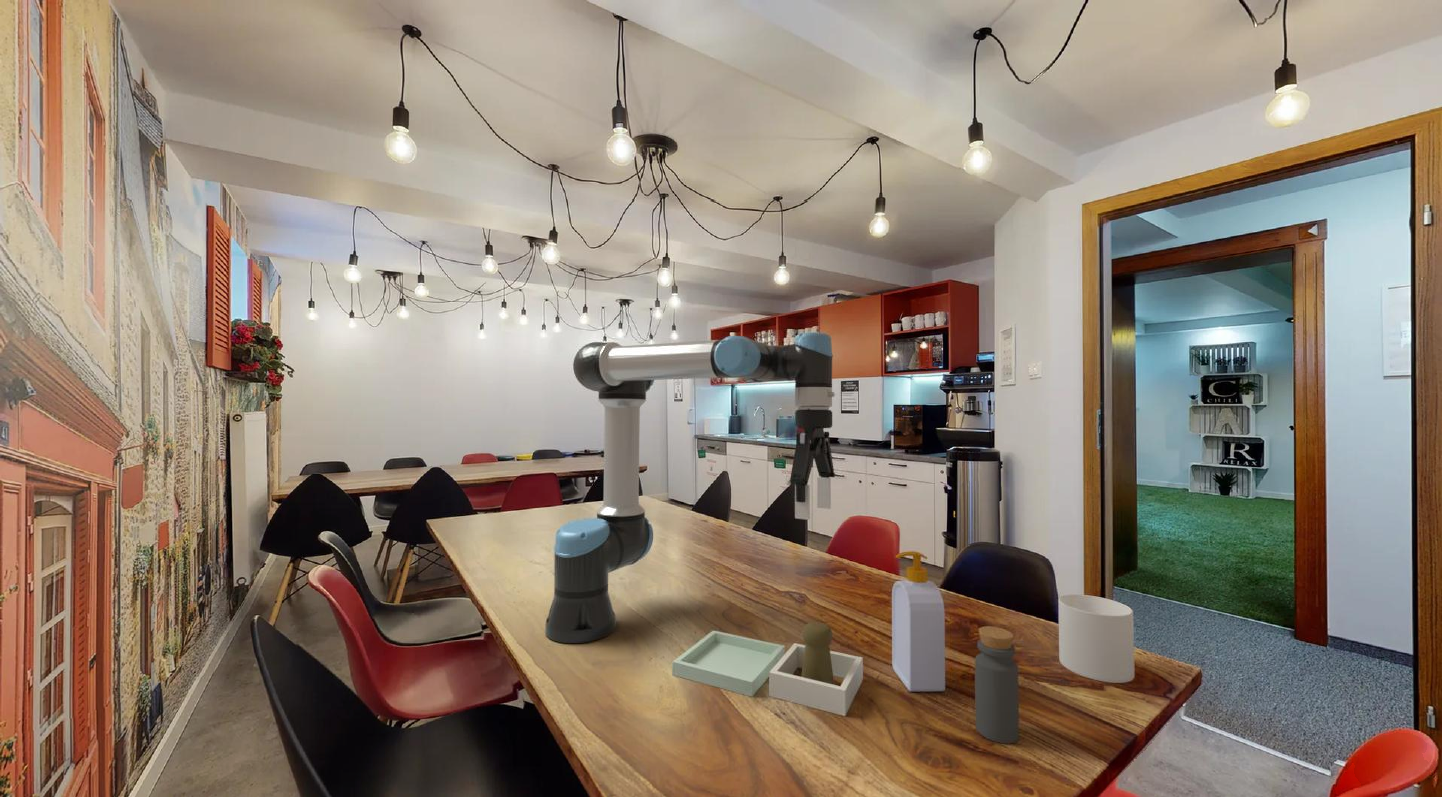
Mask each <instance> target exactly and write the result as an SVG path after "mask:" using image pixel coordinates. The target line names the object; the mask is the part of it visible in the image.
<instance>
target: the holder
mask: <svg viewBox="0 0 1442 797" xmlns="http://www.w3.org/2000/svg"><path fill="white" fill-rule="evenodd" d="M804 652H805V644H799V643H793V644H792V645H791V646H790V647H789V649H788V650H787V651H786V652H785V655H784V656H783V657H782V658H781V659H780V660H779V661H778V663H777V664H776V665H775V666H774V667H773V668H772V670H771V671H770V672H769V677H768V679H769V680H768V697H771V698H774V699H778V700H782V701H786V702H791V703H794V704H798V705H802V706H805V707H809V708H812V709H816V710H821V711H825V712H828V713H832V714H835V715H840V716H843V717H846V716H847V713H848V711H849V709H850V707H851V706H852V703H853V701H854V699H855V697H856V694H857V693H858V690H859V688H860V686H861V685H862V682H863V680H864V678H863V677H864V674H863V672H864V665H863V664H864V658H863V656H856V655H852V654H848V653H842V652H839V651H832V650H830V655H831V663H832V671H833V677H837V678H841V679H843V681H842V683H841V685H840V686H839V685H836V684H834V685H833V684H828V683H824V682H820V681H816V680H812V679H808V678H804V677H801V676H799V675H794V673H795V672H796V670H797V669H798V668H799V669H802V667H803V659H804Z"/></svg>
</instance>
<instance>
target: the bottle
mask: <svg viewBox="0 0 1442 797" xmlns="http://www.w3.org/2000/svg"><path fill="white" fill-rule="evenodd" d="M978 633H979V634H978V635H979V639H978V640H977V649H978V650H979V651H980V652H981V653H979V654H976V656H975V657H974V696H975V697H974V700H975V704H974V706H975V711H974V712H975V728H976V731H977V732H978V733H979V734H980V735H981V736H982V737H984V738H986V739H987V740H990V741H993V742H995V743H999V744H1007V745H1009V744H1014V743H1016V742H1018V740H1019V737H1020V725H1019V724H1020V718H1019V716H1020V714H1019V713H1020V711H1019V707H1020V706H1019V705H1020V704H1019V699H1020V698H1019V666H1018V664H1017V663H1016V661H1015V660H1014V659H1012V657H1014V656H1015V655H1016V647H1015V645H1013V641H1014V633H1013V632H1011V631H1009V630H1007V629H1005V628H1002V627H998V626H987V625H986V626H981V627H979V628H978Z"/></svg>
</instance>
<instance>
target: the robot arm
mask: <svg viewBox="0 0 1442 797" xmlns="http://www.w3.org/2000/svg"><path fill="white" fill-rule="evenodd" d="M794 338H795V340H794V343H792V344H787V345H786V344H785V345H769V344H765V343H762V342H759V341H756V340H753V339H751V338H749V337H746V336H743V335H729V336H726V337H724V338H723V339H713V340H696V341H681V342H668V343H667V342H665V343H653V344H652V343H650V344H636V345H635V344H634V345H621V344H620V343H618V342H615V341H610V342H603V341H593V342H590V343H587V344H585V345H583V346H582V347H581V348H580V349H578V351H577V353H576V354H575V357H574V358H573V363H572V366H573V367H572V369H573V373H574V375H575V376H574V377H575V378H576V380H577V381H578V382H579V384H581V386H583V388H585V389H588V390H591V391H593V392H598V402H599V403H600V404H601V405H603V407H604V433H603V434H604V435H603V436H604V439H603V440H604V442H603V450H604V451H603V504H602V505H601V507H599V509H598V510H597V511H596V518H595V517H590V518H589V517H588V518H583V519H576V520H572V521H570V522H567V523H565V524H563V525H562V526H560V527H559V528H558V529H557V531H556V533H555V541H554V546H553V552H554V564H553V565H554V567H553V568H554V571H553V572H554V574H553V576H554V577H553V578H554V579H553V580H554V582H553V583H554V584H553V585H554V586H553V588H554V590H553V591H554V593H553V594H554V595H553V600H552V601H551V605H550V608H549V612H548V616H547V618H546V620H545V624H544V626H545V628H544V630H545V631H544V632H545V636H546V637H547V638H548V639H550V640H552V641H554V642H556V643H561V644H562V643H564V644H580V643H581V644H582V643H588V642H593V641H598V640H599V639H603V638H605V637H607V636H609V635H610V634H612V633H613V632H614V631H615V629H616V625H617V623H616V622H617V620H616V619H617V618H616V617H617V616H616V613H615V611H614V609H613V606H612V601H611V599H610V595H609V573H612V572H615V571H618V570H620V569H622V568H624V567H627V566H631V565H634V564H635V563H637V562H639V561H640V560H642V559H644V558H645V557H646V555H648V553H649V552H650V550H651V548H652V546H653V542H654V529H653V526H652V524H650V522H649V519H648V517H646V516H645V513H646V511H645V509H644V507H643V506H641V505H640V503H639V496H640V495H639V493H640V488H639V487H640V428H641V427H640V420H641V419H640V418H641V417H640V416H641V415H640V414H641V406H643V404H644V403H645V402H646V401H647V392H648V391H649V390H650V389H651V387H652V386H653V385H654V382H655V381H656V380H657V381H660V380H663V381H664V380H690V379H691V380H692V379H695V380H696V379H728V378H729V379H731V378H733V379H734V378H740V379H741V378H742V379H743V380H744V381H746V382H754V383H762V382H779V381H780V382H781V381H788V382H789V381H794V382H795V383H794V386H795V387H794V406H795V407H796V408H797V409H796V410H795V411H794V412H795V413H794V415H795V417H794V420H795V421H794V425H795V427H796V428H798V429H802V430H803V431H802V432H797V433H796V439H795V442H796V444H795V449H794V455H793V461H792V467H791V473H790V477H789V484H790V485H794V518H795V519H798V520H807V521H809V520H810V519H811V518H810V517H811V516H810V515H811V514H810V512H811V510H810V508H811V507H810V506H811V503H810V502H811V501H810V498H811V495H810V492H811V491H810V489H811V488H810V484H808V483H809V479H810V476H811V473H812V468H813V464H814V463H815V466H816V469H817V473H818V476H817V479H816V480H817V481H816V482H817V483H816V484H817V485H816V487H817V488H816V489H817V490H816V492H817V493H816V494H817V497H816V502H817V504H816V506H817V507H816V508H817V509H828V510H830V509H831V504H832V503H831V495H832V494H831V486H832V484H831V478H835V475H836V474H835V473H836V472H834V471H835V469H834V462H833V457H832V456H833V455H832V451H831V444H830V431H824V429H831V428H833V411H832V409H831V410H830V408H832V407H833V398H834V397H835V395H836V394H835V392H833V358H834V354H833V346H832V344H833V343H832V337H831V336H830V335H829V334H827V333H825V332H819V331H817V332H812V331H810V332H804V333H802V332H801V333H798V334H797V335H796V336H795V337H794Z"/></svg>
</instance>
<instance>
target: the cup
mask: <svg viewBox="0 0 1442 797" xmlns="http://www.w3.org/2000/svg"><path fill="white" fill-rule="evenodd" d="M1134 626H1135V624H1134V611H1133V610H1132V608H1130V607H1129V606H1127V605H1125V604H1123V603H1121V602H1119V601H1116V600H1113V599H1109V598H1104V597H1100V596H1095V595H1087V594H1074V593H1072V594H1064V595H1062V596H1060V597H1059V598H1058V653H1059V654H1058V656H1059V663H1060V664H1061V665H1062V666H1063V667H1064V668H1066V669H1067V670H1068V671H1070V672H1073V673H1074V674H1076V675H1079V676H1081V677H1083V678H1087V679H1091V680H1094V681H1099V682H1102V683H1103V682H1104V683H1108V684H1109V683H1111V684H1124V683H1129V682H1132V681H1133V680H1134V679H1135V633H1134V630H1135V628H1134Z"/></svg>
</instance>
